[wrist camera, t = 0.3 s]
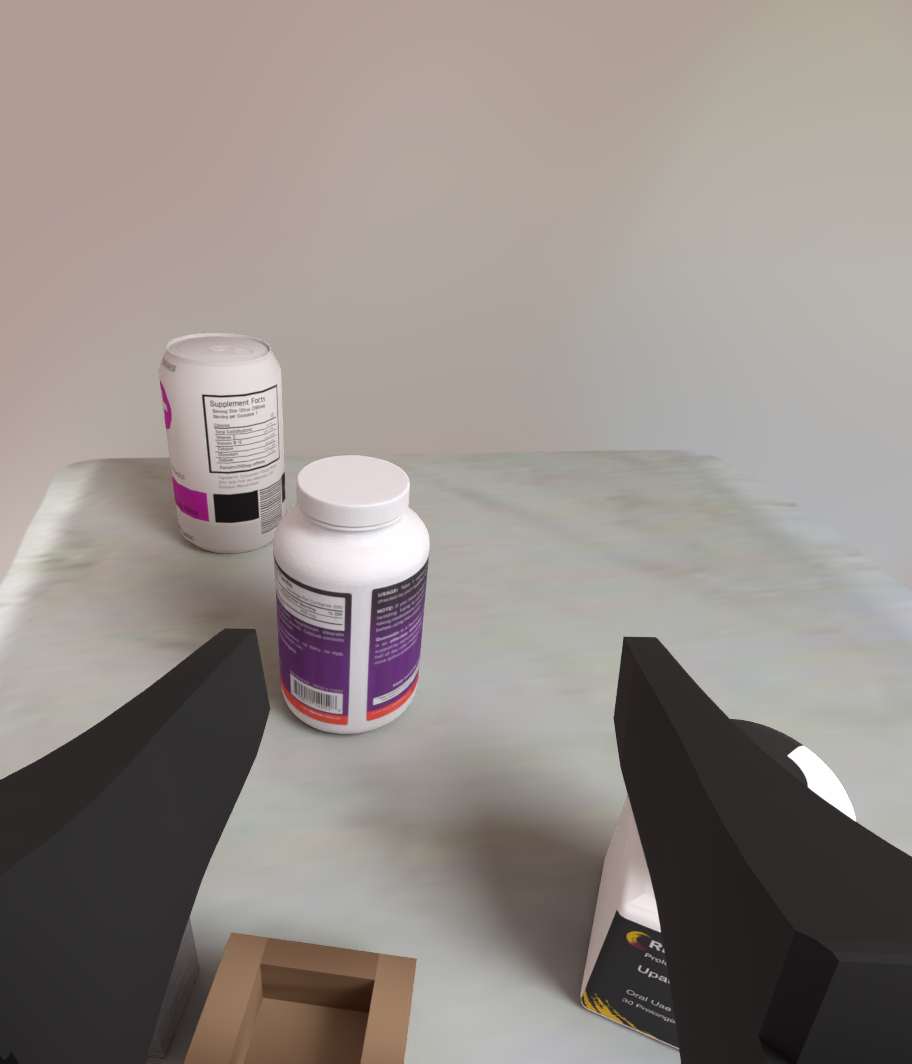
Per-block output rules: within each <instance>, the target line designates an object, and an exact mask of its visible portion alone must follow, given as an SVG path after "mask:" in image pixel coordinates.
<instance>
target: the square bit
mask: <svg viewBox="0 0 912 1064" xmlns="http://www.w3.org/2000/svg"><path fill="white" fill-rule="evenodd" d="M198 971H199V965H198V960H197V954H196V949H195V943H194V938H193V933H192V927H191V922H190V917H189V920H188V923H187V926H186V929H185V932H184V935H183V938H182V941H181V944H180V948H179V951H178V954H177V957H176V960H175V964H174V967H173V970H172V973H171V977H170V980H169V983H168V986H167V989H166V993H165V996H164V1000H163V1003H162V1007H161V1010H160V1014H159V1017H158V1021H157V1025H156V1028H155V1032H154V1035H153V1039H152V1042H151V1046H150V1049H149V1053H148V1056H150V1057H157V1058H164V1059H165V1057H166V1054H167V1051H168V1049H169V1046H170V1044H171V1041H172V1039H173V1036H174V1033H175V1031H176V1028H177V1026H178V1023H179V1020H180V1018H181V1015H182V1013H183V1010H184V1007H185V1005H186V1002H187V1000H188V997H189V994H190V992H191V989H192V987H193V984H194V982H195V979H196V976H197V974H198Z"/></svg>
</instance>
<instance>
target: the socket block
mask: <svg viewBox="0 0 912 1064" xmlns="http://www.w3.org/2000/svg"><path fill="white" fill-rule="evenodd" d="M416 960H417V959H414V958H407V957H400V956H393V955H386V954H379V953H372V952H365V951H358V950H350V949H343V948H336V947H329V946H322V945H315V944H308V943H301V942H294V941H287V940H280V939H273V938H266V937H259V936H252V935H244V934H237V933H231V934H230V937H229V940H228V942H227V945H226V948H225V951H224V953H223V956H222V959H221V962H220V964H219V967H218V970H217V973H216V975H215V978H214V981H213V984H212V986H211V989H210V992H209V995H208V997H207V1000H206V1003H205V1006H204V1008H203V1011H202V1014H201V1017H200V1019H199V1022H198V1025H197V1028H196V1030H195V1033H194V1036H193V1039H192V1041H191V1044H190V1047H189V1050H188V1052H187V1055H186V1058H185V1061H184V1063H183V1064H404V1056H405V1048H406V1040H407V1032H408V1024H409V1016H410V1008H411V1000H412V992H413V984H414V976H415V968H416Z"/></svg>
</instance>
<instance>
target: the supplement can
mask: <svg viewBox="0 0 912 1064" xmlns="http://www.w3.org/2000/svg"><path fill="white" fill-rule="evenodd" d="M159 378H160V386H161V393H162V401H163V409H164V417H165V424H166V432H167V439H168V447H169V455H170V463H171V471H172V478H173V486H174V494H175V502H176V509H177V517H178V525H179V530H180V532H181V533H182V535H183V536H184V538H185V539H187V540H188V541H190V542H192V543H193V544H194V545H196V546H198V547H200V548H201V549H203V550H207V551H211V552H216V553H233V554H235V553H241V552H248V551H252V550H255V549H258V548H261V547H263V546H265V545H267V544H268V543H270V542H271V541H272V540H273V539H274V534H275V530H276V528H277V525H278V524H279V522H280V520H281V519H282V518H283V516H284V515H285V514H286V503H285V473H284V443H283V413H282V383H281V369H280V365H279V363H278V362H277V360H276V358H275V356H274V355H273V353H272V351H271V346H270V345H269V344H268V343H266V342H265V341H263V340H260V339H257V338H254V337H250V336H244V335H239V334H228V333H201V334H193V335H186V336H183V337H179V338H175V339H173V340H171V341H170V342H168V343H167V346H166V352H165V355H164V357H163V359H162V362H161V364H160V368H159Z"/></svg>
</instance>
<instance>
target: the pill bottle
mask: <svg viewBox="0 0 912 1064" xmlns="http://www.w3.org/2000/svg"><path fill="white" fill-rule="evenodd" d="M409 488H410V482H409V478H408V476H407V474H406V473H405V472H404V471H403V470H402V469H401V468H399V467H398V466H396V465H394V464H392V463H390V462H388V461H385V460H382V459H377V458H373V457H367V456H357V455H343V456H333V457H328V458H323V459H320V460H317V461H314V462H312V463H310V464H308V465H307V466H305V467H304V468H303V469H302V470H301V471H300V472H299V474H298V476H297V503H298V504H297V505H295V506H294V507H293V508H291V509H290V510H289V511H288V512H287V513H286V514H285V515H284V516H283V518H282V519H281V520H280V522H279V524H278V525H277V528H276V530H275V534H274V539H273V552H274V565H275V582H276V599H277V619H278V638H279V656H280V679H281V688H282V693H283V696H284V699H285V701H286V703H287V705H288V707H289V708H290V709H291V711H292V712H293V713H294V714H295V715H296V716H297V717H298V718H299V719H300V720H302V721H303V722H305V723H306V724H308V725H310V726H312V727H314V728H316V729H318V730H321V731H325V732H330V733H337V734H356V733H363V732H367V731H371V730H374V729H377V728H380V727H382V726H384V725H386V724H388V723H390V722H392V721H393V720H395V719H396V718H397V717H399V716H400V715H401V714H402V713H403V712H404V711H405V710H406V708H407V707H408V706H409V704H410V703H411V701H412V699H413V697H414V695H415V692H416V688H417V683H418V673H419V661H420V649H421V637H422V626H423V615H424V603H425V592H426V581H427V570H428V560H429V547H430V541H429V535H428V531H427V529H426V527H425V525H424V523H423V522H422V520H421V519H420V518H419V517H418V516H417V514H416V513H415V512H414V511H412V510H411V509H410V508H409V507H408V505H409Z"/></svg>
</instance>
